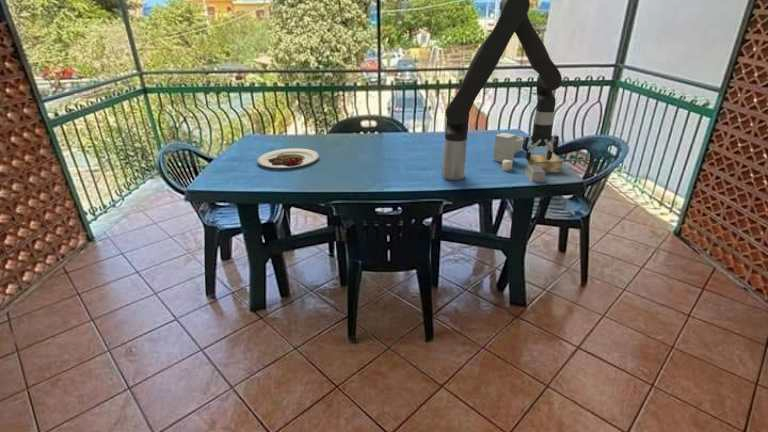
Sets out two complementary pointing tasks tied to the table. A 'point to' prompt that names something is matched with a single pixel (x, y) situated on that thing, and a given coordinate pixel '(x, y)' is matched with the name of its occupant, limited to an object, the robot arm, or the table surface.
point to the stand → (546, 163)
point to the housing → (535, 173)
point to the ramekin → (518, 144)
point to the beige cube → (507, 165)
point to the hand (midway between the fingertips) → (538, 159)
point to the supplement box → (504, 147)
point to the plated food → (288, 158)
